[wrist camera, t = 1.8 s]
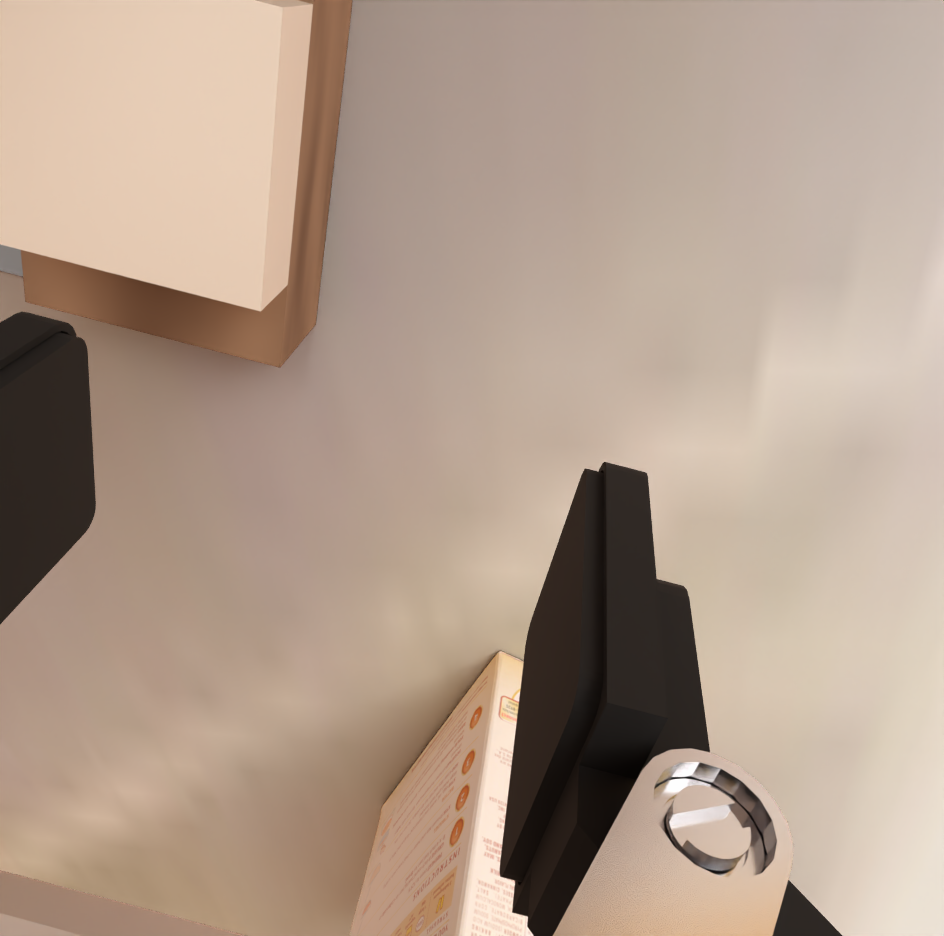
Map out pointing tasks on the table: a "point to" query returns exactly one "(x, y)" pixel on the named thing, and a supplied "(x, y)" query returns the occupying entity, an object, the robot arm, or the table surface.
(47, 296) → the board
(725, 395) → the table surface
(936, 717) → the table surface
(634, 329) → the table surface
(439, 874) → the coffeecake box
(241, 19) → the cream coaster
